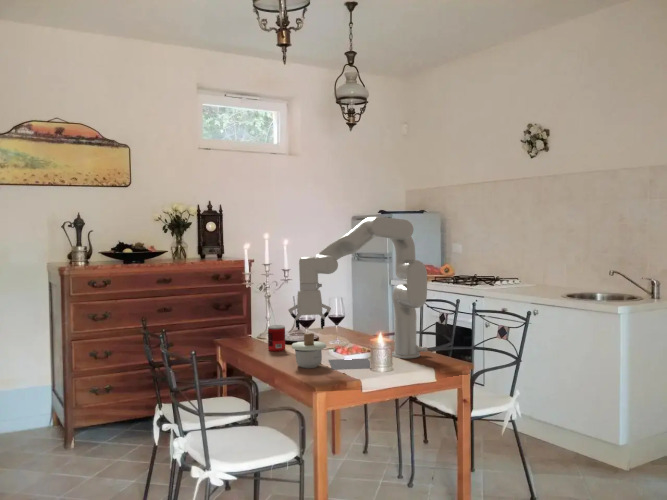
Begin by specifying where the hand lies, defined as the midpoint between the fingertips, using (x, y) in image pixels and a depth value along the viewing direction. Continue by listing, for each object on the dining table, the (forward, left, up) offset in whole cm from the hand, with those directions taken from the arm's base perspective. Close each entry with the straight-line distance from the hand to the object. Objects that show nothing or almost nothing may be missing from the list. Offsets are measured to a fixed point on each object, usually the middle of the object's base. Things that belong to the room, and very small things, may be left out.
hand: (310, 328), depth 241 cm
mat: (-17, 0, -15) cm, 23 cm away
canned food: (+13, -33, -16) cm, 39 cm away
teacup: (+1, 0, -16) cm, 16 cm away
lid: (+1, 0, -7) cm, 7 cm away
